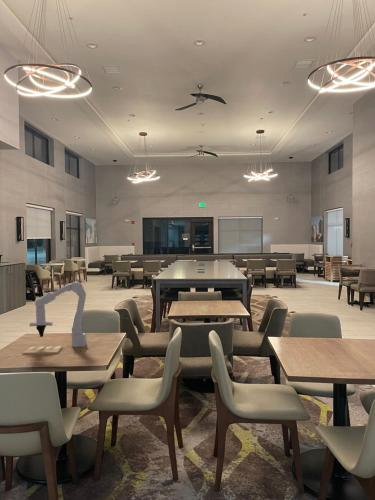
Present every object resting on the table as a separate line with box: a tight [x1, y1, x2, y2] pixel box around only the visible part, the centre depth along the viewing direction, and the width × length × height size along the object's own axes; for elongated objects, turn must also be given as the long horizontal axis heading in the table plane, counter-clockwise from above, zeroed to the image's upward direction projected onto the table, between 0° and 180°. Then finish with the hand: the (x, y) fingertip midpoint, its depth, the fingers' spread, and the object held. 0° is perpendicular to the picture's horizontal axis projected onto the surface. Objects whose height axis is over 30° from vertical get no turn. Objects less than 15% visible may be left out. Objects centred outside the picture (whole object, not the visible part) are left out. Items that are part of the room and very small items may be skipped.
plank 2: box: [44, 345, 64, 351], centre depth 267 cm, size 10×6×1 cm, turn 91°
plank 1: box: [27, 345, 47, 350], centre depth 267 cm, size 10×6×1 cm, turn 91°
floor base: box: [22, 347, 64, 356], centre depth 264 cm, size 22×14×2 cm, turn 91°
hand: (41, 336), depth 271 cm, fingers closed
